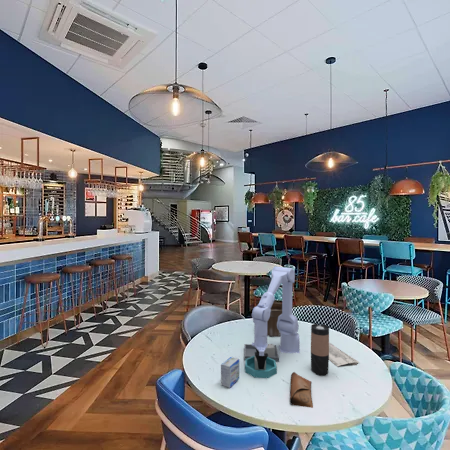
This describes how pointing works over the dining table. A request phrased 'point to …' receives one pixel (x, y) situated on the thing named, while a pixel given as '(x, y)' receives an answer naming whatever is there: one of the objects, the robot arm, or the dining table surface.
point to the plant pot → (274, 320)
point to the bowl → (270, 370)
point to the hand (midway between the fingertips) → (260, 364)
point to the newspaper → (340, 357)
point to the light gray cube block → (270, 350)
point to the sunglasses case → (300, 391)
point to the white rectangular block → (257, 365)
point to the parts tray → (251, 351)
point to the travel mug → (319, 349)
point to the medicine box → (230, 372)
